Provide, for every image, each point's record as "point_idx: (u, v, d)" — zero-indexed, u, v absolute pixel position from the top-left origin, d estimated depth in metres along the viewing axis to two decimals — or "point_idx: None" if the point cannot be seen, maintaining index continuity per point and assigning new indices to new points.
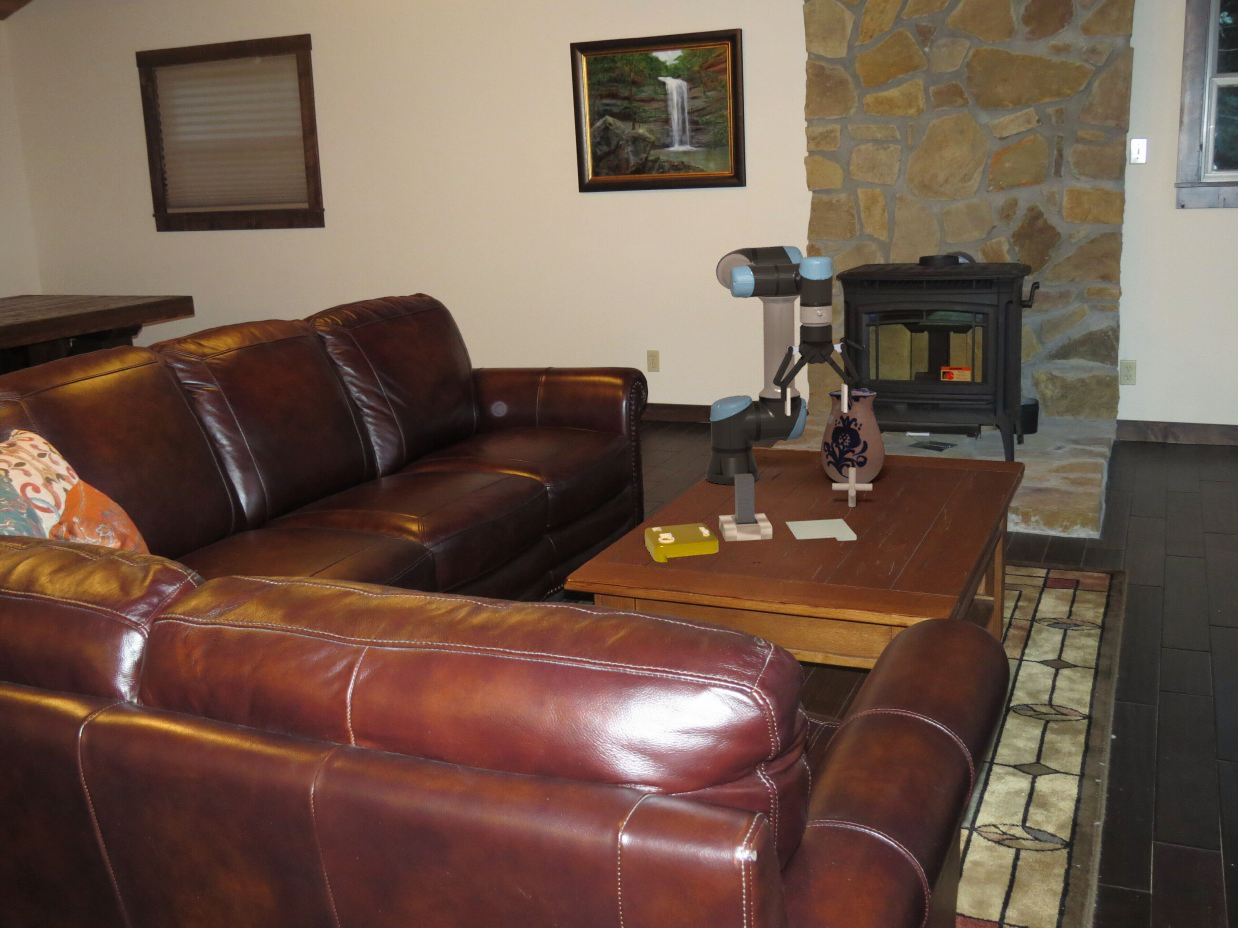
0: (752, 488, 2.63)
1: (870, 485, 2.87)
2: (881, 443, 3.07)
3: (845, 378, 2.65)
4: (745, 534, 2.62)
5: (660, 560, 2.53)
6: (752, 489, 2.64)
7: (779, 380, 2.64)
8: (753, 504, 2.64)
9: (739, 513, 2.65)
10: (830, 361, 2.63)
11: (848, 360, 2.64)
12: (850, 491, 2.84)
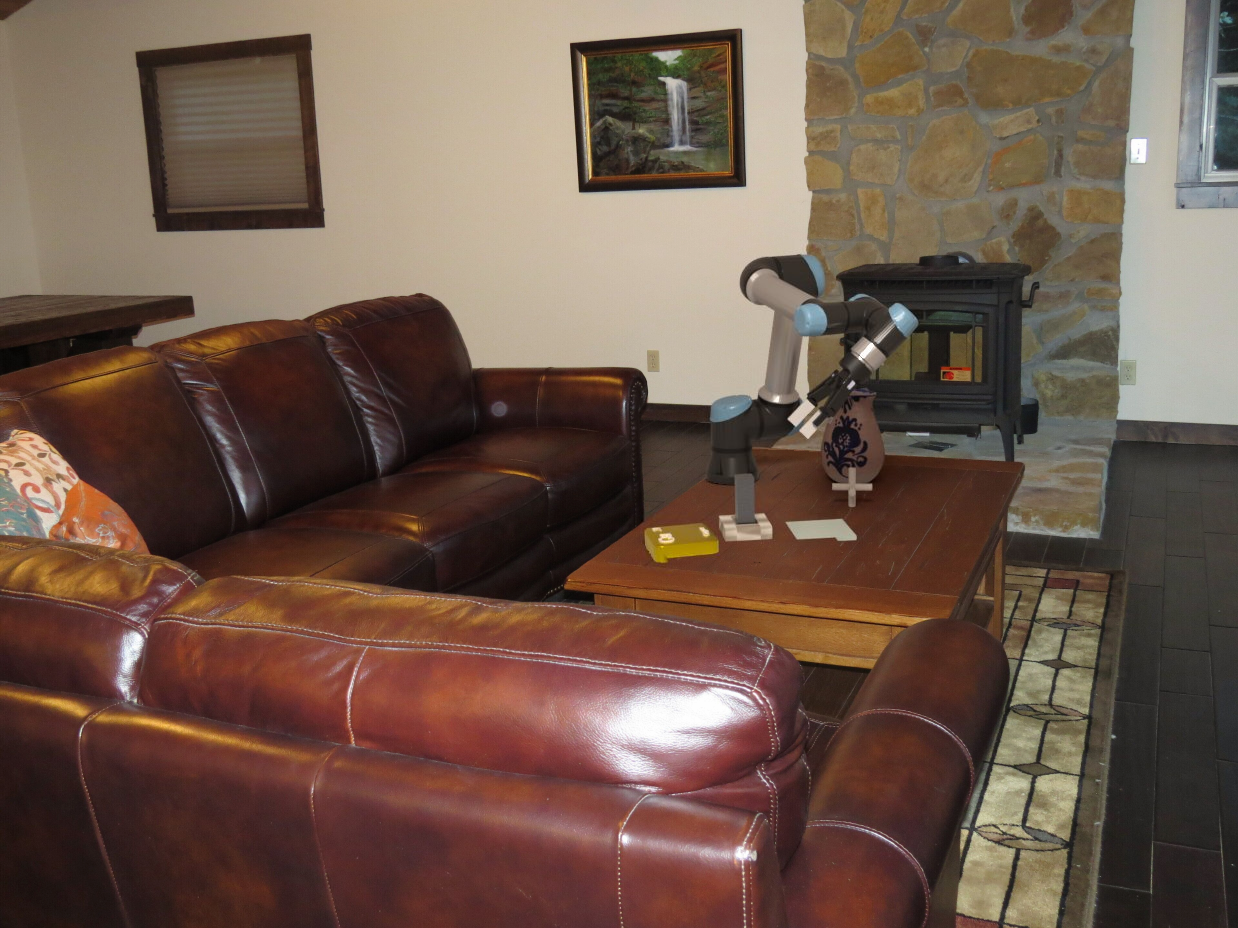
0: (752, 488, 2.63)
1: (870, 485, 2.87)
2: (881, 443, 3.07)
3: None
4: (745, 534, 2.62)
5: (660, 560, 2.53)
6: (752, 489, 2.64)
7: None
8: (753, 504, 2.64)
9: (739, 513, 2.65)
10: None
11: None
12: (850, 491, 2.84)
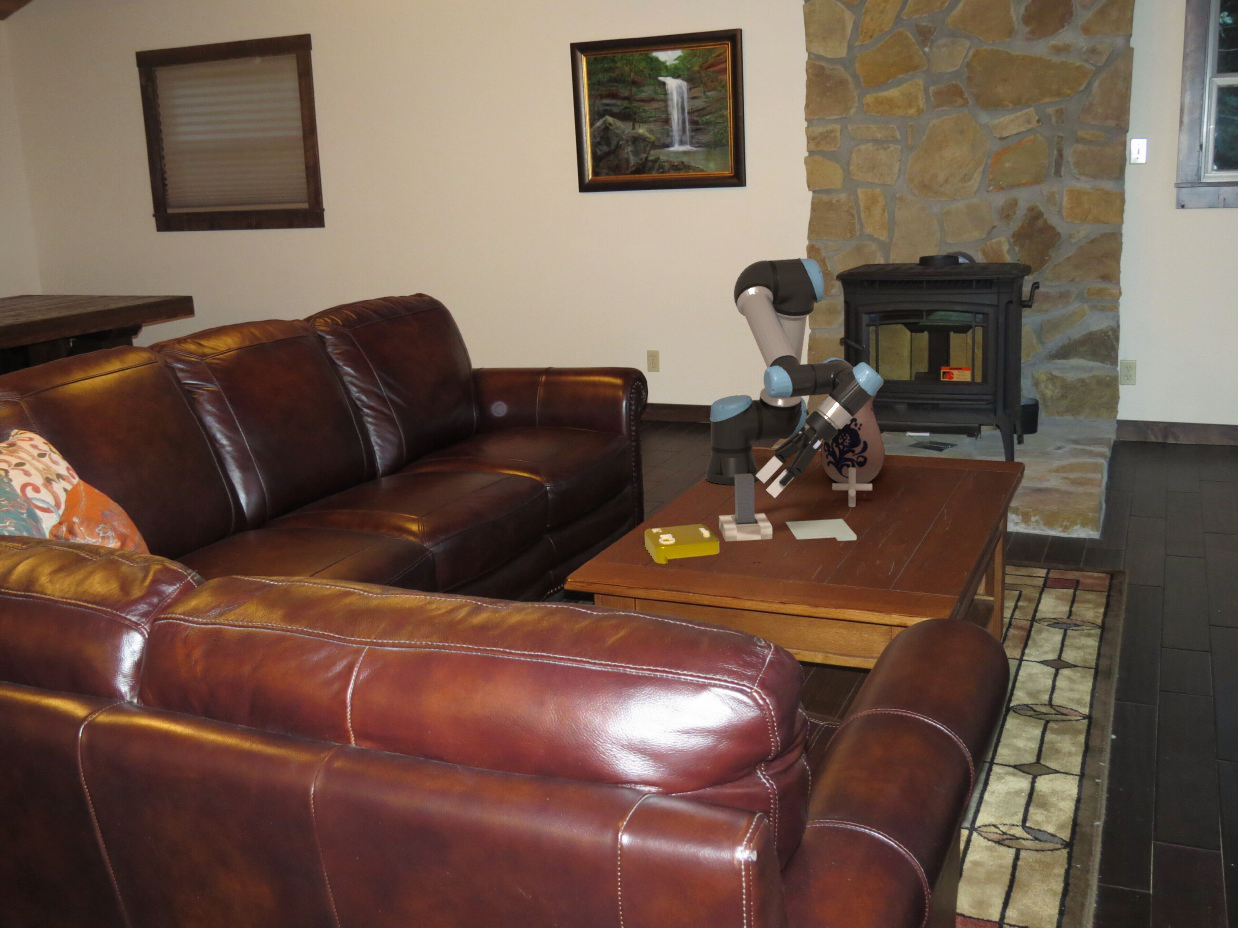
0: (752, 488, 2.63)
1: (870, 485, 2.87)
2: (881, 443, 3.07)
3: None
4: (745, 534, 2.62)
5: (661, 561, 2.52)
6: (752, 489, 2.64)
7: None
8: (753, 504, 2.64)
9: (739, 513, 2.65)
10: None
11: None
12: (850, 491, 2.84)
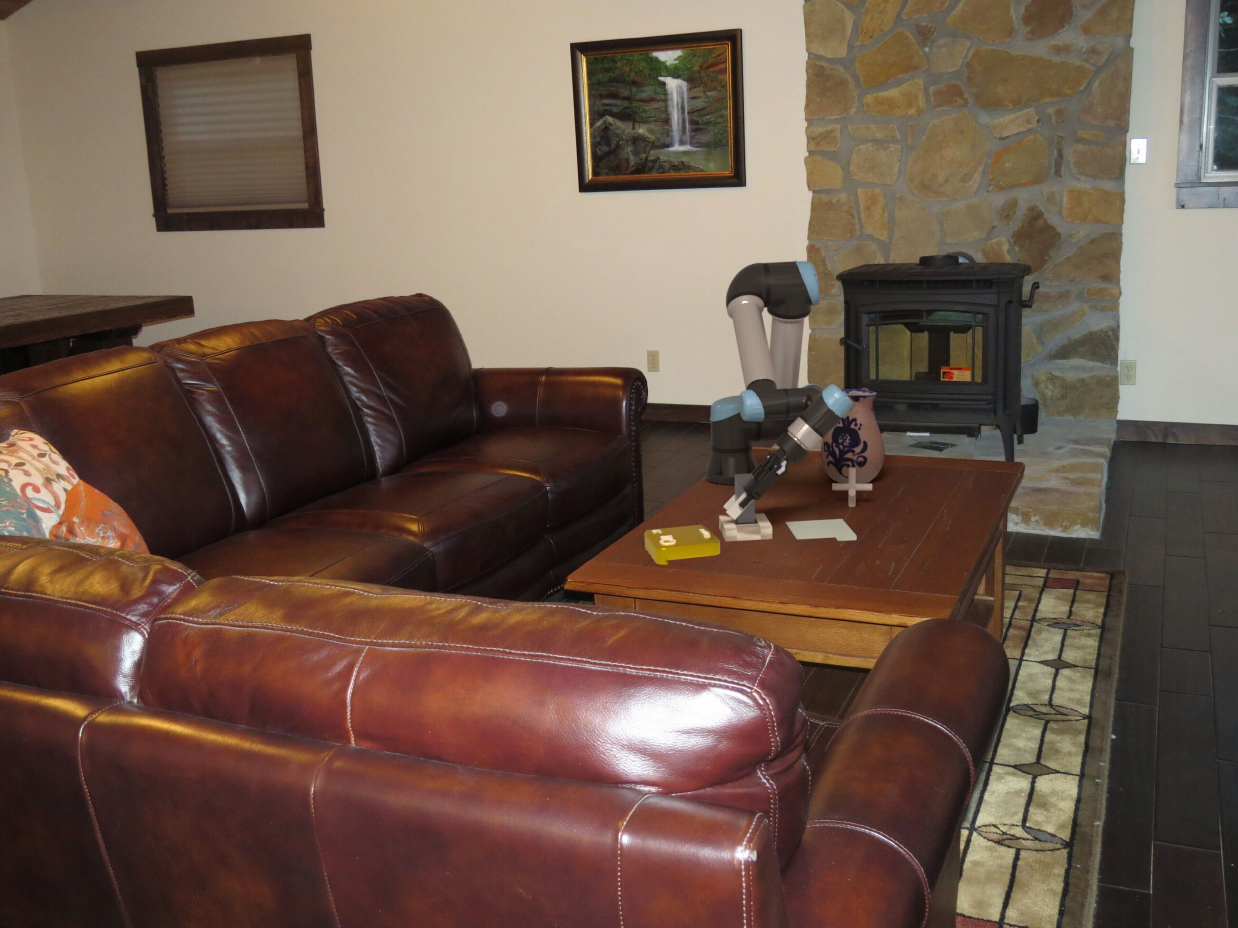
0: None
1: (870, 485, 2.87)
2: (881, 443, 3.07)
3: None
4: (745, 534, 2.62)
5: (662, 562, 2.51)
6: None
7: None
8: (753, 504, 2.64)
9: None
10: None
11: None
12: (850, 491, 2.84)
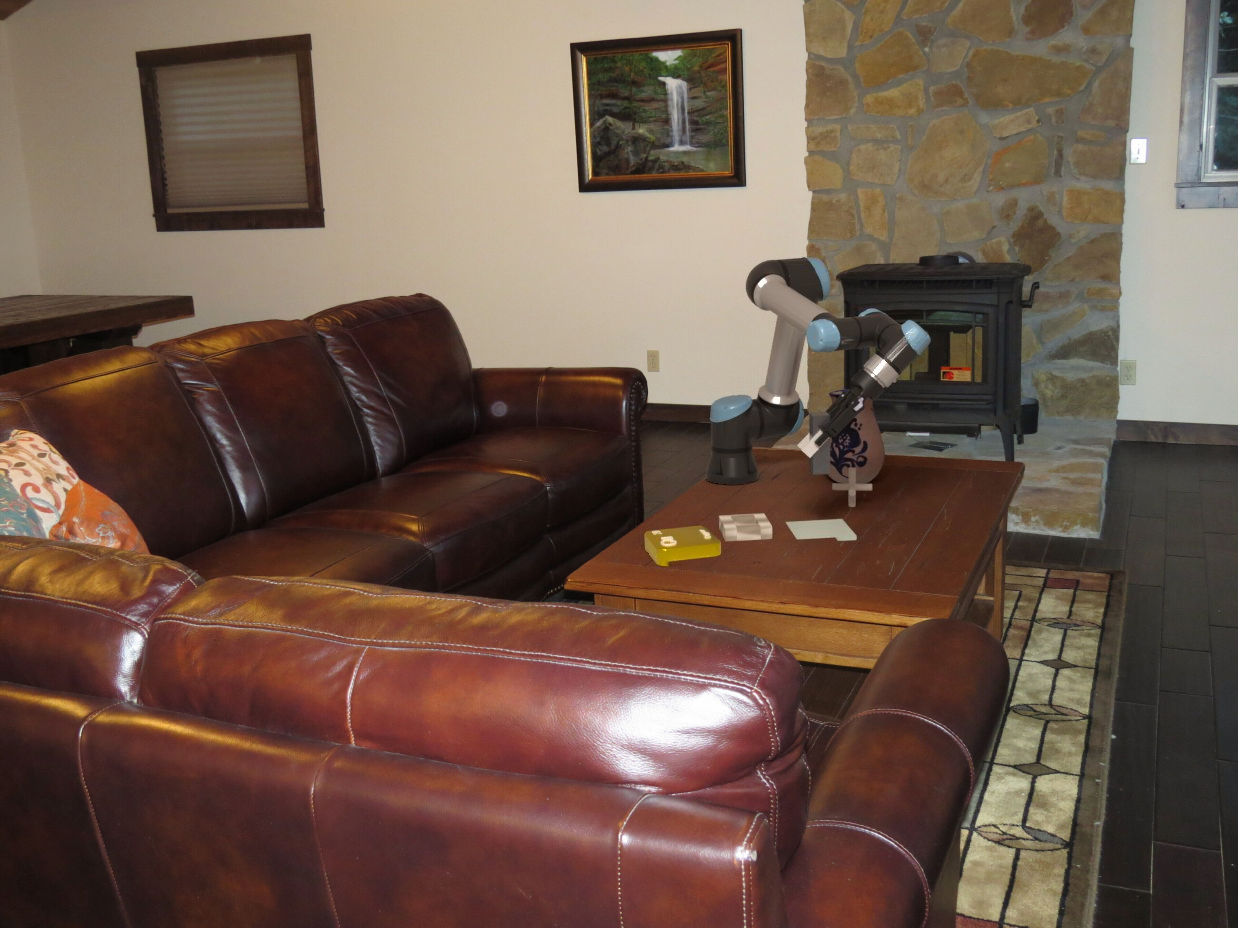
0: None
1: (870, 485, 2.87)
2: (881, 443, 3.07)
3: None
4: (745, 534, 2.62)
5: (663, 564, 2.50)
6: None
7: None
8: (829, 442, 2.62)
9: None
10: None
11: None
12: (850, 491, 2.84)
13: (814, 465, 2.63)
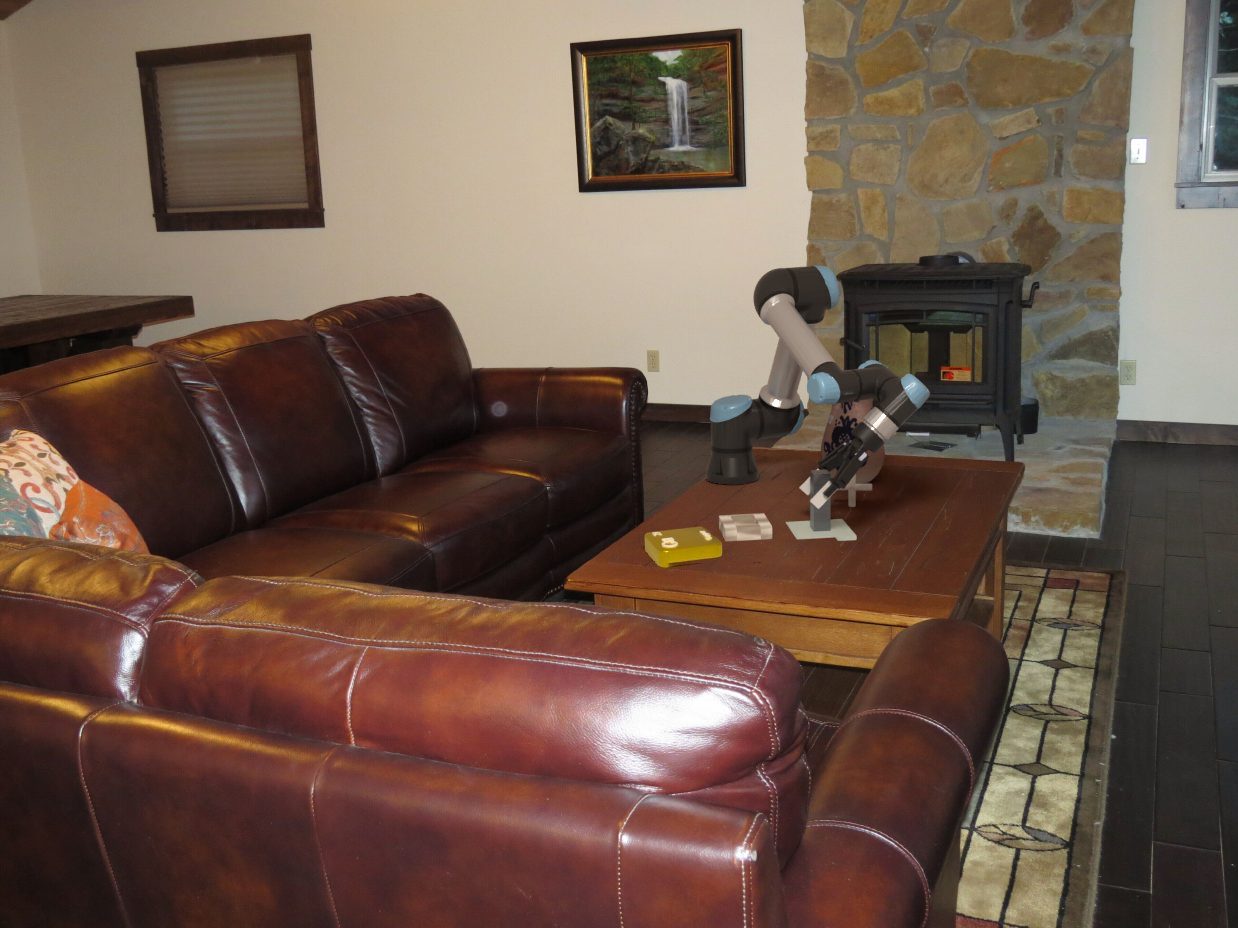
0: None
1: (870, 485, 2.87)
2: None
3: None
4: (745, 534, 2.62)
5: (665, 565, 2.49)
6: None
7: None
8: (829, 500, 2.65)
9: (815, 509, 2.65)
10: None
11: None
12: (850, 491, 2.84)
13: (815, 522, 2.66)
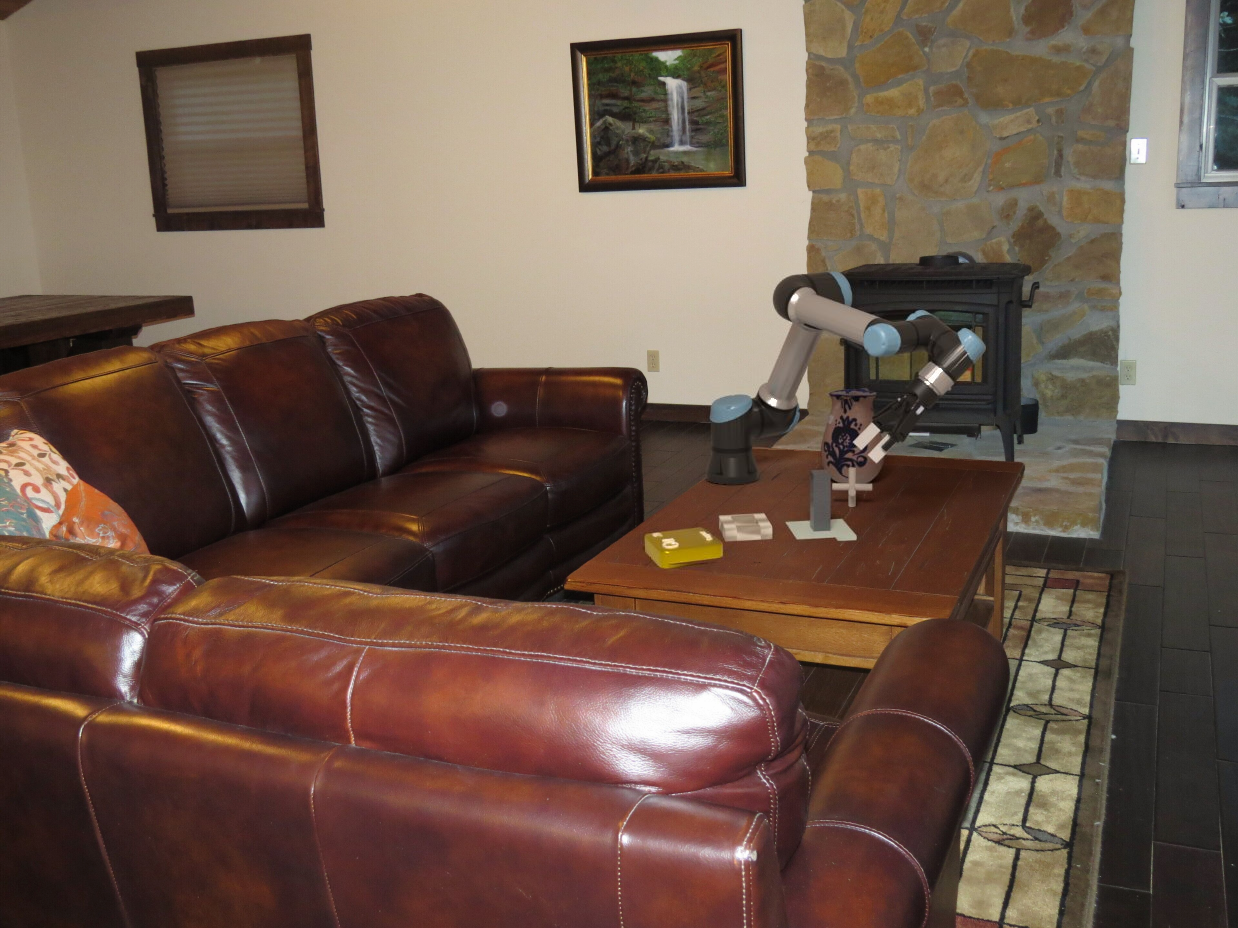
0: (828, 484, 2.64)
1: (870, 485, 2.87)
2: None
3: None
4: (745, 534, 2.62)
5: (666, 566, 2.49)
6: (828, 485, 2.64)
7: None
8: (829, 500, 2.65)
9: (815, 509, 2.65)
10: None
11: None
12: (850, 491, 2.84)
13: (815, 522, 2.66)
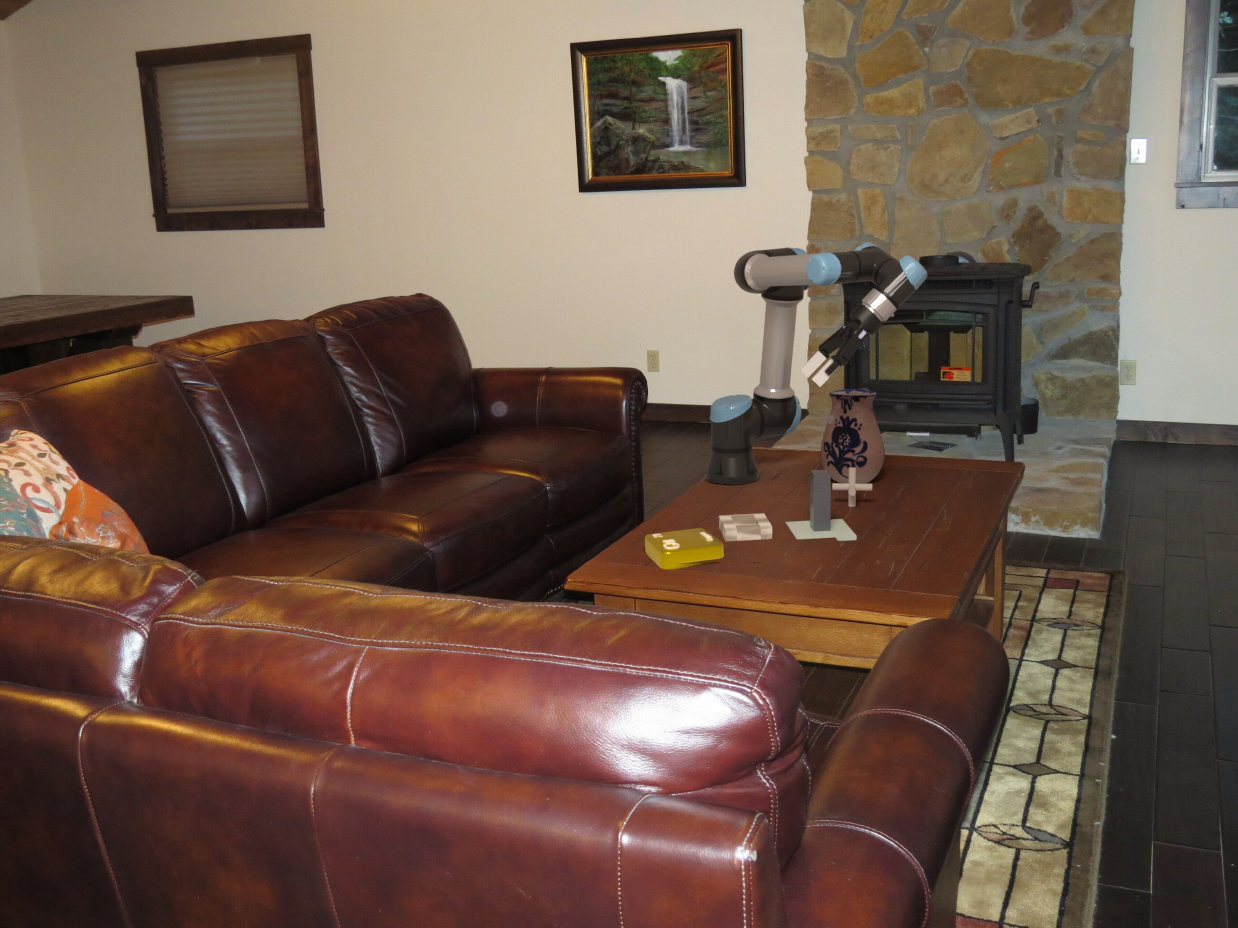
0: (828, 484, 2.64)
1: (870, 485, 2.87)
2: (881, 443, 3.07)
3: None
4: (745, 534, 2.62)
5: (667, 567, 2.48)
6: (828, 485, 2.64)
7: None
8: (829, 500, 2.65)
9: (815, 509, 2.65)
10: None
11: None
12: (850, 491, 2.84)
13: (815, 522, 2.66)
